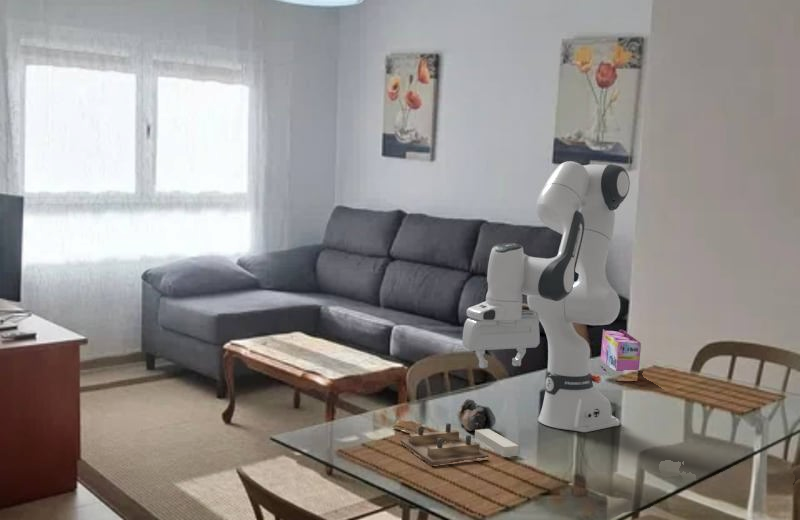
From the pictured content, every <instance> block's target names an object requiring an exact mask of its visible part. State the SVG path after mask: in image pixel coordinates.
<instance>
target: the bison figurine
mask: <svg viewBox="0 0 800 520" xmlns="http://www.w3.org/2000/svg"><path fill="white" fill-rule="evenodd" d="M457 419H458V421H459V423H460V424H462V425H463V427H464V429H465V430H466V429H467V431H468V430H469V431H468V432H470V431H475V430H481V429H490V430H492V429H493V427H494V426H495V424H496V421H497V419H496V416H495V414H494V413H493V411H492V410H491V408H490V407H489V406H485V405H480V404H477V403H476V402H475V400H474V399H470V398H467V399H465V400H464V402H463V403H462V405H461V406H460V408H459V410H458V412H457Z"/></svg>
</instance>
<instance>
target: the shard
mask: <svg viewBox="0 0 800 520" xmlns="http://www.w3.org/2000/svg"><path fill="white" fill-rule="evenodd" d="M418 423H420V424H418ZM419 426H423V424H422V423H421V422H417V421H414V420H404V419H403V420H402V419H401V420H400V419H398V420H397V421H396V423H395V424H394V425H392V429H393V428H394V429H399V430H405V431H410V432H413V431H414V432H415V433H417V431H418V427H419ZM394 429H393V430H394ZM417 434H418V433H417Z"/></svg>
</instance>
